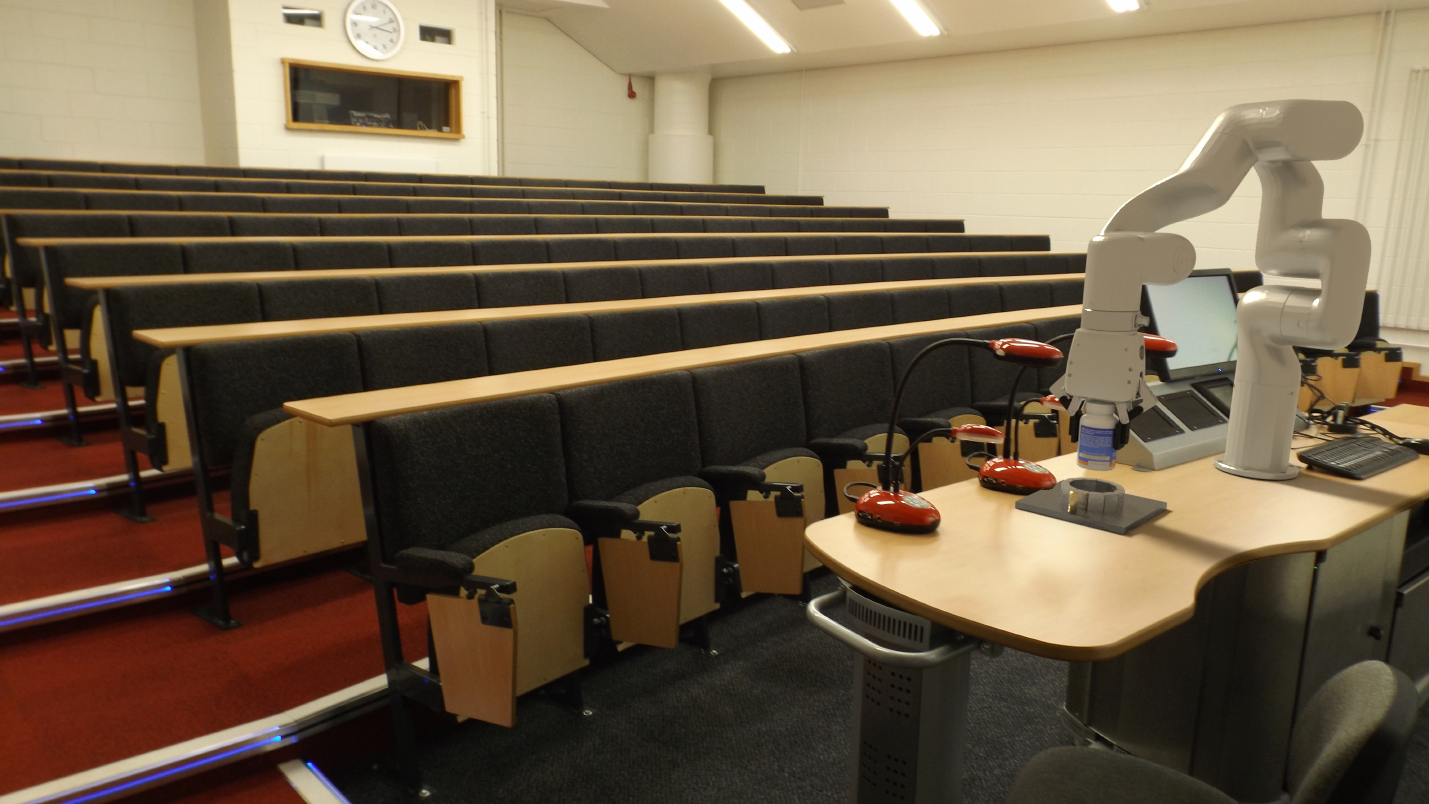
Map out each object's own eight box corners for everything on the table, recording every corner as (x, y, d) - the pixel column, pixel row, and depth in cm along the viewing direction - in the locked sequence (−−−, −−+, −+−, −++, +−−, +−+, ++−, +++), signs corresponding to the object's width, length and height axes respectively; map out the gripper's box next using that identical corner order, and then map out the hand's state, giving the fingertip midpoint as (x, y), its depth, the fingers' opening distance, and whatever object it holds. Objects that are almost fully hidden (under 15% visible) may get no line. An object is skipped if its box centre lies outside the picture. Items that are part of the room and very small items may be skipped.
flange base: (1062, 485, 147) (1064, 461, 147) (1166, 508, 136) (1169, 483, 136) (1014, 507, 136) (1017, 482, 136) (1123, 534, 125) (1126, 507, 124)
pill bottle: (1119, 472, 132) (1126, 406, 130) (1081, 471, 133) (1087, 405, 131) (1108, 462, 137) (1115, 399, 135) (1071, 460, 138) (1077, 397, 136)
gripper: (1181, 324, 128) (1167, 449, 132) (1058, 315, 139) (1048, 430, 143) (1166, 329, 122) (1152, 460, 126) (1040, 319, 133) (1030, 439, 137)
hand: (1097, 443), depth 134 cm, fingers closed on pill bottle, 5 cm apart
